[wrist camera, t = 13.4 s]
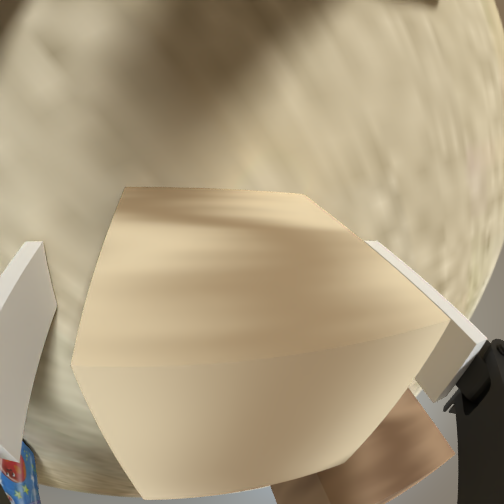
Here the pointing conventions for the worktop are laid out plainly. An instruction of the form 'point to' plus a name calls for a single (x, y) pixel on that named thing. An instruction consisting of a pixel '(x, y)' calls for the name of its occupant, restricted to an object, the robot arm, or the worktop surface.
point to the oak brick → (242, 339)
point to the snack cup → (20, 478)
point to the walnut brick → (377, 462)
